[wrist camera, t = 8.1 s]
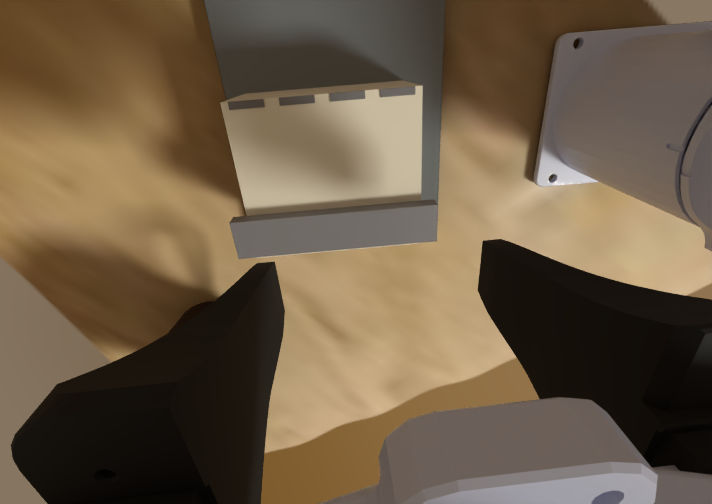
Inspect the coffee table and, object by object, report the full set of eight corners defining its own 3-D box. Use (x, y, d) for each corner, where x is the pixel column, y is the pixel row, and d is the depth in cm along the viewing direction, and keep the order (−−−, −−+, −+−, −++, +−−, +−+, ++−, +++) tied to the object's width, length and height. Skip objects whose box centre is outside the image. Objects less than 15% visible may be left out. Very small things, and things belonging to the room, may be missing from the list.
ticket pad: (414, 79, 18) (442, 85, 14) (414, 208, 21) (436, 248, 17) (233, 94, 18) (198, 105, 13) (260, 222, 21) (240, 266, 17)
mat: (450, -346, 13) (458, -376, 12) (433, 223, 23) (436, 229, 22) (139, -325, 13) (124, -355, 12) (261, 238, 23) (259, 245, 22)
